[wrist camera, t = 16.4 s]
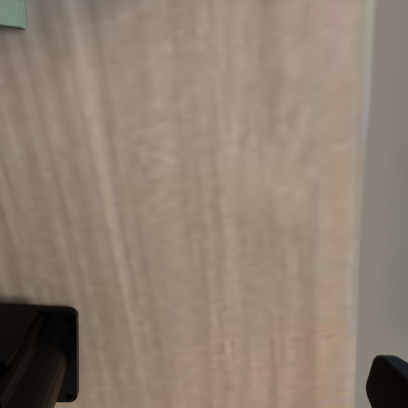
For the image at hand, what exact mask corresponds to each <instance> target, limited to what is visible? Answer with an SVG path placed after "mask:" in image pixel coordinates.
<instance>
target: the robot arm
mask: <svg viewBox="0 0 408 408" xmlns="http://www.w3.org/2000/svg"><path fill="white" fill-rule="evenodd" d="M65 315H69V316H71V317H72V318H70V319H69V318H67V317H65ZM78 392H79V325H78V312H77V310H76V309H74V308H71V307H50V306H36V305H18V304H0V408H54V406H55V404H56V402H73V401H75V400H76V398H77V396H78ZM69 393H72V394H69ZM366 393H367V396H368V399H369V401H370V404H371V407H372V408H408V363H407V362H405V361H404V360H402V359H400V358H399V357H397V356H394V355H378V356H376V357H375V358H374V360H373V363H372V366H371V369H370V373H369V376H368V379H367V383H366Z"/></svg>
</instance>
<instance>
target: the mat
mask: <svg viewBox="0 0 408 408" xmlns="http://www.w3.org/2000/svg"><path fill="white" fill-rule="evenodd" d="M0 26H4V27H13V28H21V29H26V17H25V0H0Z"/></svg>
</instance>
